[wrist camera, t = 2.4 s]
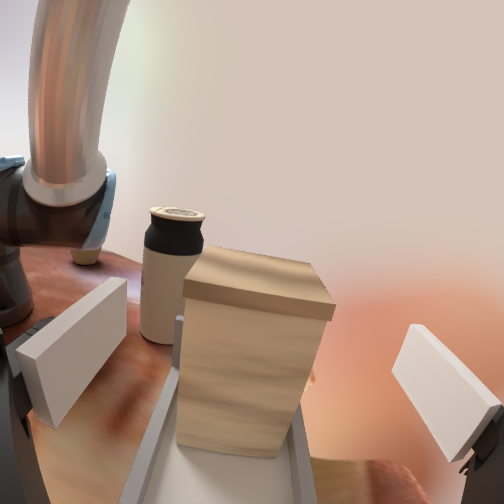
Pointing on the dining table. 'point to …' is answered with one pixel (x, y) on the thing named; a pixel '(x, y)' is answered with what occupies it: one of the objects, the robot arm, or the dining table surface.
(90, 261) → the squeeze bottle
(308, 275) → the wooden block
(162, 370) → the dining table surface
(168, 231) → the travel mug
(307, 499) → the bay
